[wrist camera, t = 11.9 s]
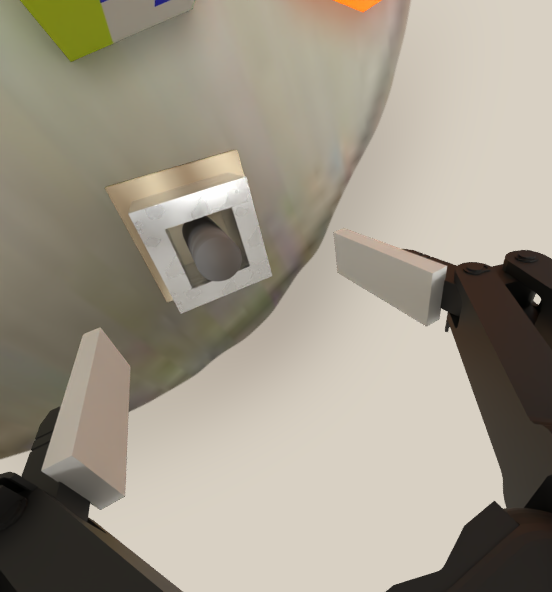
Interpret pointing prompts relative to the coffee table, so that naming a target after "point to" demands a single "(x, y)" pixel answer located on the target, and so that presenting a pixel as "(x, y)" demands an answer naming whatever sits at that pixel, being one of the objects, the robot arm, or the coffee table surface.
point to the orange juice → (359, 4)
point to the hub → (192, 205)
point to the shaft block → (191, 235)
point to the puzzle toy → (99, 20)
